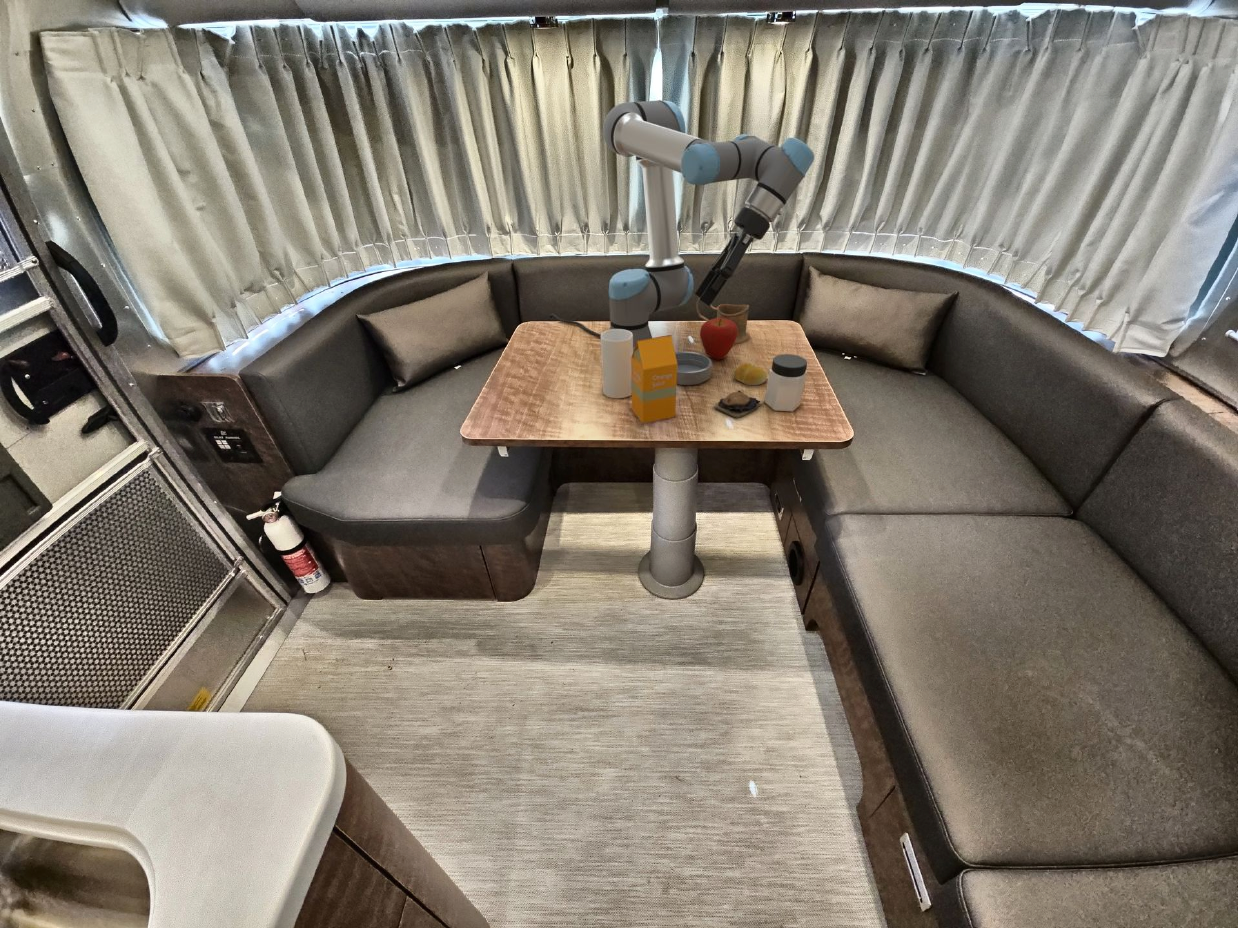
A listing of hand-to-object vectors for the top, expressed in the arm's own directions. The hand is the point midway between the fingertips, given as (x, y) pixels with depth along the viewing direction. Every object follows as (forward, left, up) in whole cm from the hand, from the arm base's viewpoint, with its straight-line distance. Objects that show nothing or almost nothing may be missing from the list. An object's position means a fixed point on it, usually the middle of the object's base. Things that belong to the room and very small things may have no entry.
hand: (701, 300), depth 125 cm
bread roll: (+1, +20, -26) cm, 33 cm away
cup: (-16, -13, -26) cm, 34 cm away
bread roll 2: (+10, +6, -26) cm, 29 cm away
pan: (-12, +8, -26) cm, 30 cm away
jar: (+16, +16, -26) cm, 35 cm away
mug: (-26, +36, -26) cm, 52 cm away
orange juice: (-1, -13, -26) cm, 30 cm away
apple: (-15, +23, -26) cm, 38 cm away
